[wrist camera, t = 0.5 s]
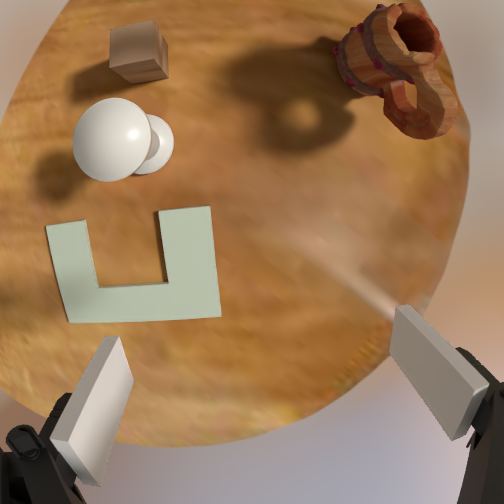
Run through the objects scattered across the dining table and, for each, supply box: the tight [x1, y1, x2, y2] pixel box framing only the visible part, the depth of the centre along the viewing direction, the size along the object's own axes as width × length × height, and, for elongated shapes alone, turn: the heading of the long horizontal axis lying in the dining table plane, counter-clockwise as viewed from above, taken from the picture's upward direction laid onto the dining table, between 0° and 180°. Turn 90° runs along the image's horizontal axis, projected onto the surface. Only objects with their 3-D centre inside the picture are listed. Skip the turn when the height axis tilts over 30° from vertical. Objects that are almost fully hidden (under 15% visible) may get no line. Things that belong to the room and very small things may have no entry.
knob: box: [73, 98, 174, 182], centre depth 29 cm, size 7×7×12 cm
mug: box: [332, 3, 458, 140], centre depth 27 cm, size 15×8×15 cm, turn 20°
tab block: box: [109, 20, 169, 84], centre depth 28 cm, size 4×4×8 cm
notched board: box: [46, 205, 221, 323], centre depth 38 cm, size 14×22×1 cm, turn 94°
